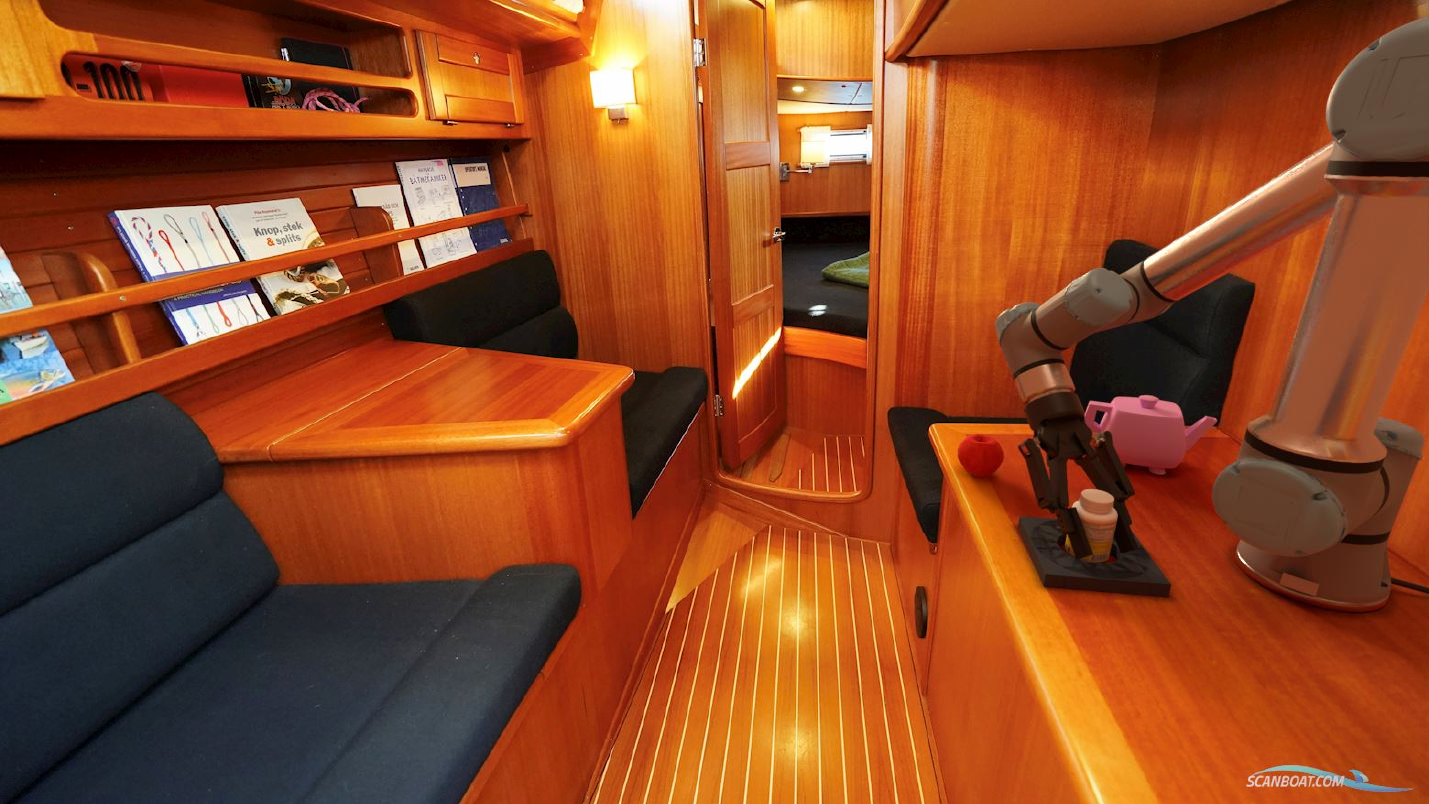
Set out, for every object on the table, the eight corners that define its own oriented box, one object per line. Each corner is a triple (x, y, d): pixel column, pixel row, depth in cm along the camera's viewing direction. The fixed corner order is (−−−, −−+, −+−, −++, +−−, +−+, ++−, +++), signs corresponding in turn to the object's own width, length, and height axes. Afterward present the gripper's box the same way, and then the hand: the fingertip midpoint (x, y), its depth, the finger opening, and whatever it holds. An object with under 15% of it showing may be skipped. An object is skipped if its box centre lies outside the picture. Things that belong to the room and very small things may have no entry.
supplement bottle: (1071, 542, 95) (1083, 481, 91) (1113, 557, 91) (1126, 494, 88) (1057, 558, 91) (1068, 495, 88) (1099, 575, 88) (1113, 510, 84)
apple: (949, 464, 120) (952, 428, 118) (991, 463, 120) (996, 427, 117) (962, 484, 113) (966, 446, 110) (1008, 483, 113) (1013, 445, 110)
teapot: (1076, 465, 118) (1087, 401, 113) (1076, 440, 128) (1086, 380, 124) (1209, 486, 109) (1227, 417, 104) (1198, 457, 119) (1214, 393, 115)
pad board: (1124, 534, 96) (1126, 522, 96) (1168, 597, 83) (1172, 584, 82) (1017, 527, 100) (1019, 516, 99) (1043, 586, 86) (1045, 574, 85)
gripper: (1091, 405, 101) (1151, 551, 91) (978, 415, 98) (1028, 567, 89) (1123, 384, 94) (1190, 540, 84) (1002, 394, 91) (1058, 556, 82)
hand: (1107, 553), depth 87 cm, fingers open, 6 cm apart
